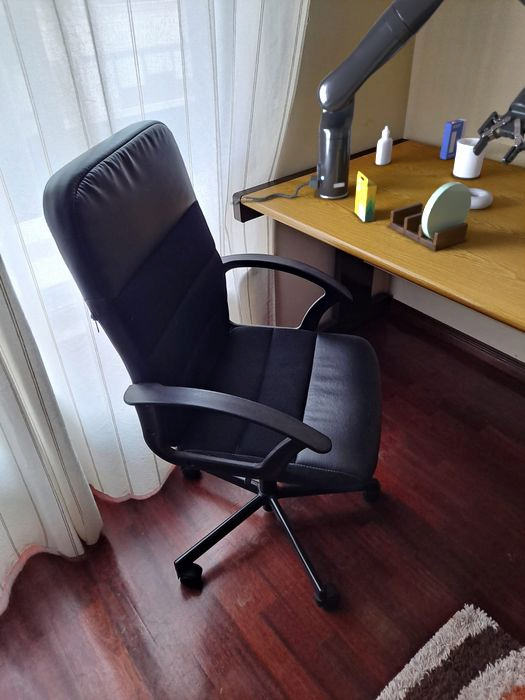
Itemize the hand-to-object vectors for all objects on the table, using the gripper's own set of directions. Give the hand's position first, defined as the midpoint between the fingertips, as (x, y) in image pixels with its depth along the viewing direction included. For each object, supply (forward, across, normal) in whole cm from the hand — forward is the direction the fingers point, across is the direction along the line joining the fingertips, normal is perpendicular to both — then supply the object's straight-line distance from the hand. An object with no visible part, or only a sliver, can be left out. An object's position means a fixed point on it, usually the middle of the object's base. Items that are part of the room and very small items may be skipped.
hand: (489, 158), depth 117 cm
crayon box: (+25, -23, +1) cm, 34 cm away
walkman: (-14, -46, +40) cm, 63 cm away
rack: (+21, -5, +5) cm, 22 cm away
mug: (-8, -31, +34) cm, 46 cm away
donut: (+4, -12, +22) cm, 25 cm away
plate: (+20, 0, +5) cm, 21 cm away
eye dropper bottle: (+2, -55, +24) cm, 60 cm away
